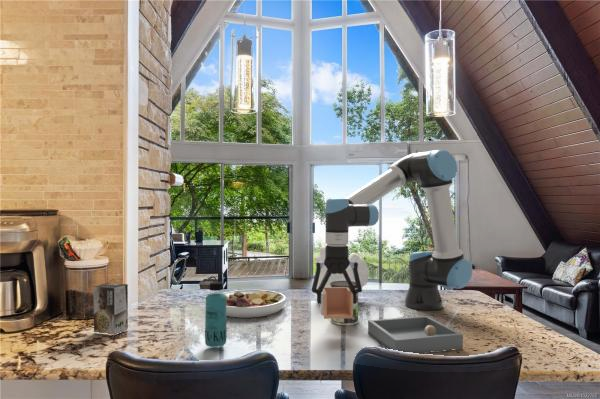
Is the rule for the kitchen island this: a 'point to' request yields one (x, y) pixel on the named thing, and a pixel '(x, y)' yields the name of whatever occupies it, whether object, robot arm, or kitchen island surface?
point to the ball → (430, 330)
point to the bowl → (253, 303)
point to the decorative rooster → (362, 270)
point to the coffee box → (110, 308)
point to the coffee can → (355, 306)
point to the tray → (414, 334)
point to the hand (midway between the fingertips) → (336, 313)
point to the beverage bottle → (215, 316)
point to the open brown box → (337, 302)
